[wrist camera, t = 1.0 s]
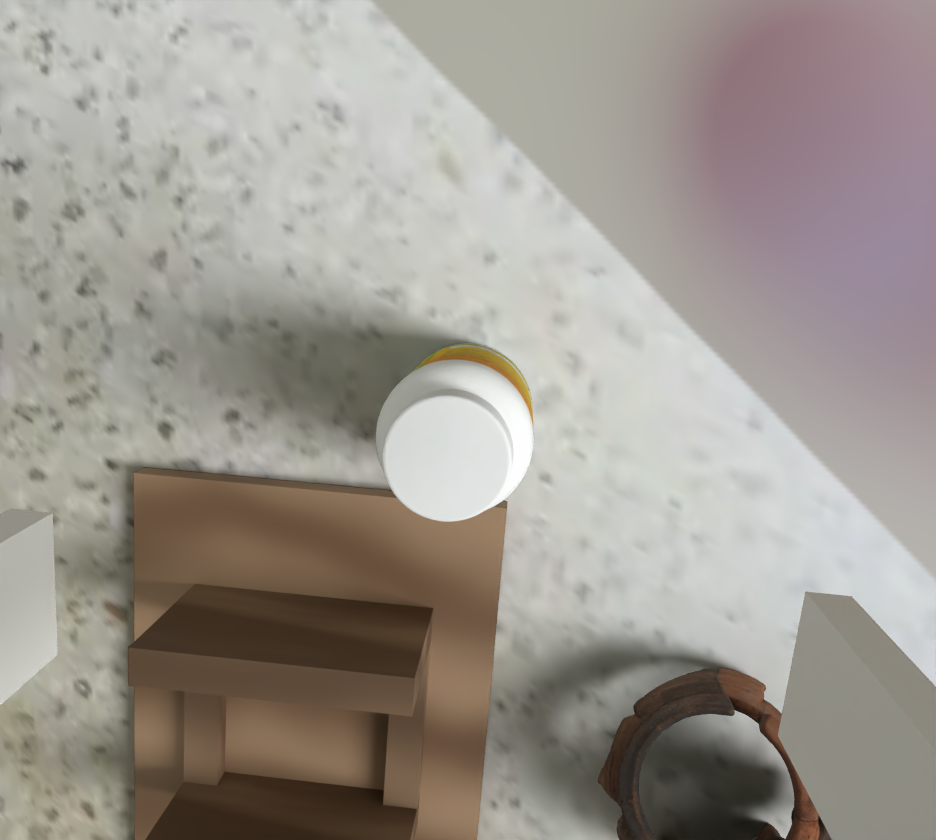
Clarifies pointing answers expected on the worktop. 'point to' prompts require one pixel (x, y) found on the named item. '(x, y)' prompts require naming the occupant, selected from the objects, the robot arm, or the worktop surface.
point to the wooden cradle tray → (308, 661)
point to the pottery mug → (686, 700)
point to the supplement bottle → (456, 433)
